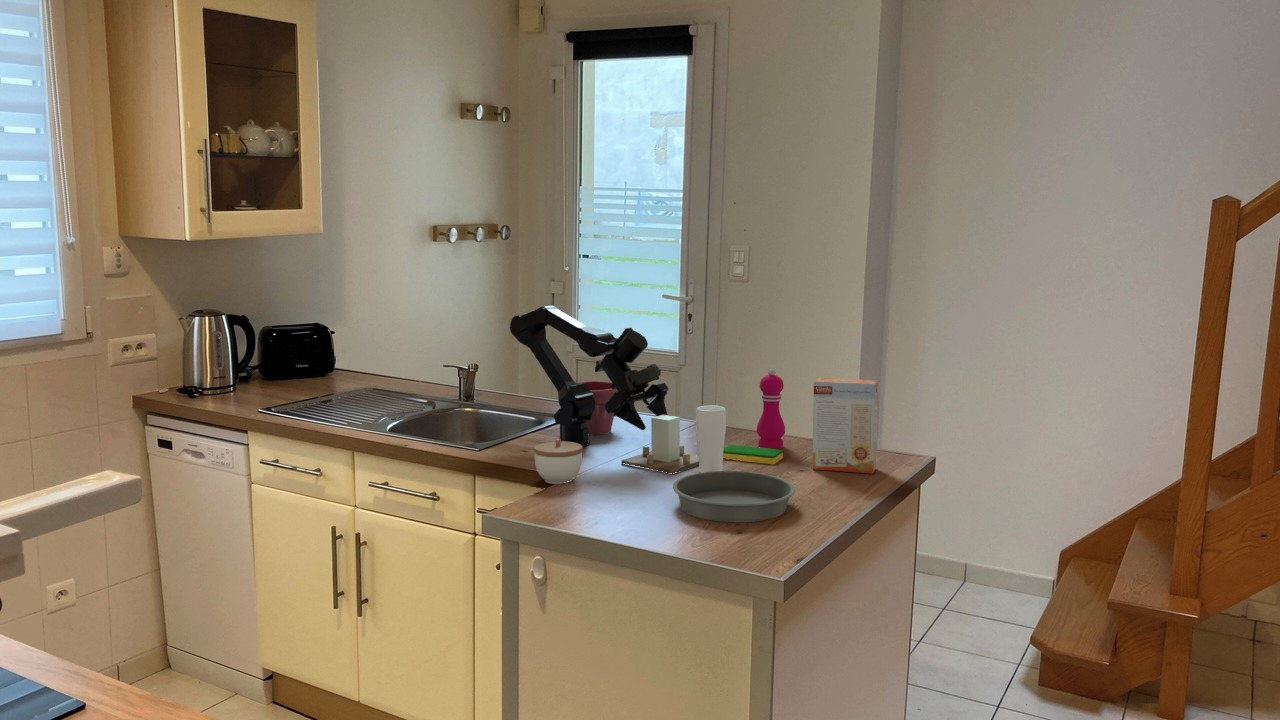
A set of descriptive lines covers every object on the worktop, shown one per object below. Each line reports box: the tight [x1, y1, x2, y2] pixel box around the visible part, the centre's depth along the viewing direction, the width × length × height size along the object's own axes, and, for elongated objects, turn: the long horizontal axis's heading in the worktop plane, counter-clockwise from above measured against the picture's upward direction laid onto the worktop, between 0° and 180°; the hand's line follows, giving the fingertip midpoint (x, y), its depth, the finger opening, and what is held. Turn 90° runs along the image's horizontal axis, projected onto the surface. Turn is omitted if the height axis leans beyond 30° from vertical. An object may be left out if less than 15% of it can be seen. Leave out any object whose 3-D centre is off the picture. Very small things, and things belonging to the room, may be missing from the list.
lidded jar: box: [533, 438, 584, 485], centre depth 221 cm, size 11×11×9 cm
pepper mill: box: [755, 368, 786, 450], centre depth 252 cm, size 7×7×20 cm
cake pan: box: [672, 470, 796, 523], centre depth 202 cm, size 25×25×4 cm
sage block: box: [650, 414, 681, 462], centre depth 236 cm, size 5×4×10 cm
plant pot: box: [575, 380, 618, 436], centre depth 271 cm, size 14×14×13 cm
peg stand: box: [620, 444, 699, 475], centre depth 237 cm, size 15×15×3 cm
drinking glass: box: [695, 404, 727, 473], centre depth 227 cm, size 7×7×15 cm
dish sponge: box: [723, 444, 784, 465], centre depth 242 cm, size 7×14×2 cm, turn 64°
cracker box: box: [811, 377, 879, 475], centre depth 229 cm, size 14×6×21 cm, turn 71°
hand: (656, 425), depth 238 cm, fingers open, 9 cm apart
